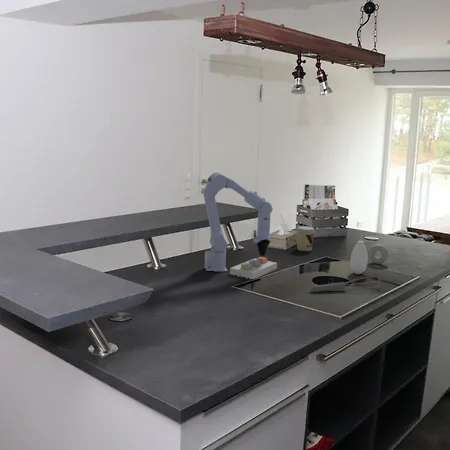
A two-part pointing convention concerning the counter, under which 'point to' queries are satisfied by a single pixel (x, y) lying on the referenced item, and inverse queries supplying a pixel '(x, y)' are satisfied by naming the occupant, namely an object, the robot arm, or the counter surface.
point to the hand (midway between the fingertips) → (262, 255)
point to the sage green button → (246, 266)
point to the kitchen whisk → (337, 286)
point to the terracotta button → (262, 260)
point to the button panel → (254, 270)
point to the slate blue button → (254, 263)
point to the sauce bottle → (359, 258)
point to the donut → (383, 251)
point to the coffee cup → (305, 238)
